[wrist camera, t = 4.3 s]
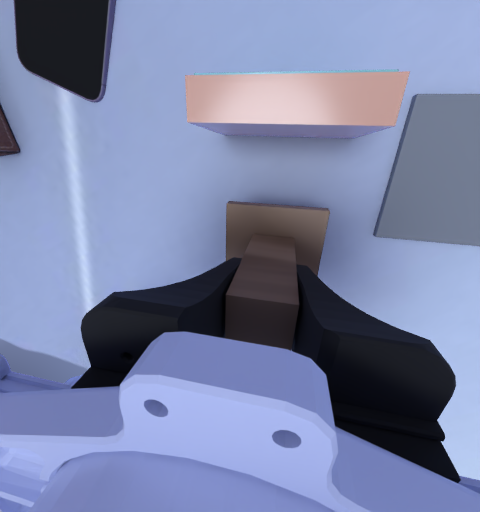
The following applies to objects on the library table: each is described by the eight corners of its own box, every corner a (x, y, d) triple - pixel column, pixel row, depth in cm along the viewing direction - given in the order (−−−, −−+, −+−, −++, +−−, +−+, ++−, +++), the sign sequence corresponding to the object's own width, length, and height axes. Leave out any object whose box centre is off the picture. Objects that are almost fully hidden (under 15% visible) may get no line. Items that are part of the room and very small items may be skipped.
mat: (508, 246, 16) (514, 249, 16) (373, 234, 18) (375, 236, 17) (592, 95, 13) (603, 93, 12) (413, 96, 14) (417, 94, 14)
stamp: (311, 293, 16) (329, 400, 9) (228, 282, 17) (185, 371, 10) (327, 208, 14) (369, 263, 7) (229, 201, 15) (174, 242, 8)
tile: (352, 138, 16) (394, 126, 9) (224, 135, 17) (187, 122, 11) (359, 104, 15) (411, 66, 9) (225, 104, 16) (184, 71, 10)
